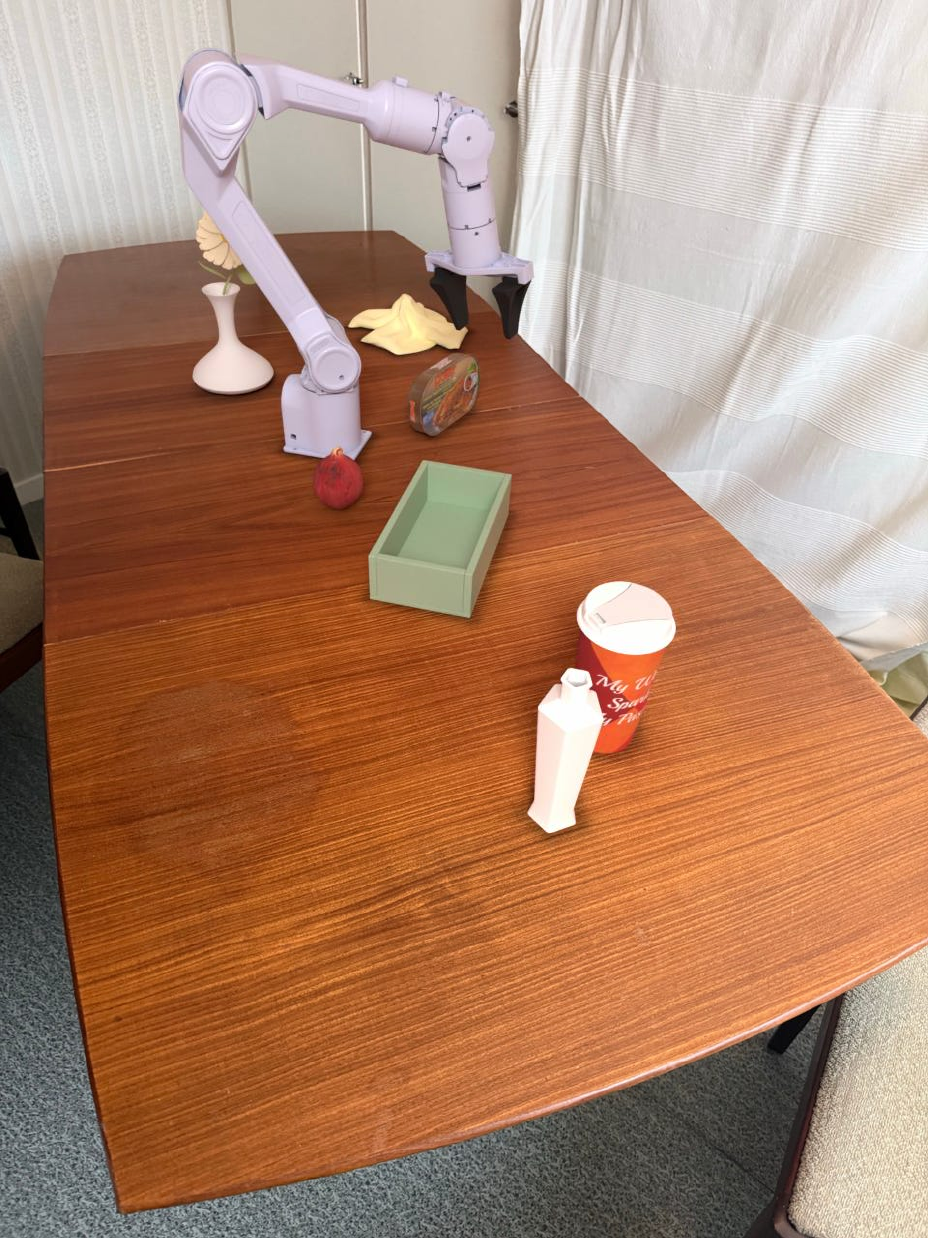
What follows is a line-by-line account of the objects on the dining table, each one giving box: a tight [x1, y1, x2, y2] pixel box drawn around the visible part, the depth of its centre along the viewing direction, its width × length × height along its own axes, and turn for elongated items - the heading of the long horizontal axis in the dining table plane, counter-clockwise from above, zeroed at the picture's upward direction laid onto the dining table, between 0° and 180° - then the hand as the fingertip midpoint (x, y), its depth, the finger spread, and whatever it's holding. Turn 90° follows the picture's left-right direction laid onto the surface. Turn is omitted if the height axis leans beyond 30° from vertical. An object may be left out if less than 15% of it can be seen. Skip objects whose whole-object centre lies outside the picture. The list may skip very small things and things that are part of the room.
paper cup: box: [574, 581, 677, 754], centre depth 69 cm, size 8×8×14 cm
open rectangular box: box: [367, 459, 513, 619], centre depth 90 cm, size 11×20×6 cm, turn 166°
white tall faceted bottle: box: [526, 667, 603, 834], centre depth 61 cm, size 5×4×15 cm
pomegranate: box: [312, 446, 365, 511], centre depth 95 cm, size 6×6×8 cm
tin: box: [407, 352, 482, 437], centre depth 113 cm, size 15×3×8 cm, turn 148°
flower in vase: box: [191, 209, 275, 395], centre depth 113 cm, size 13×11×25 cm
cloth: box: [347, 293, 469, 356], centre depth 137 cm, size 22×19×6 cm
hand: (486, 331), depth 106 cm, fingers open, 7 cm apart
